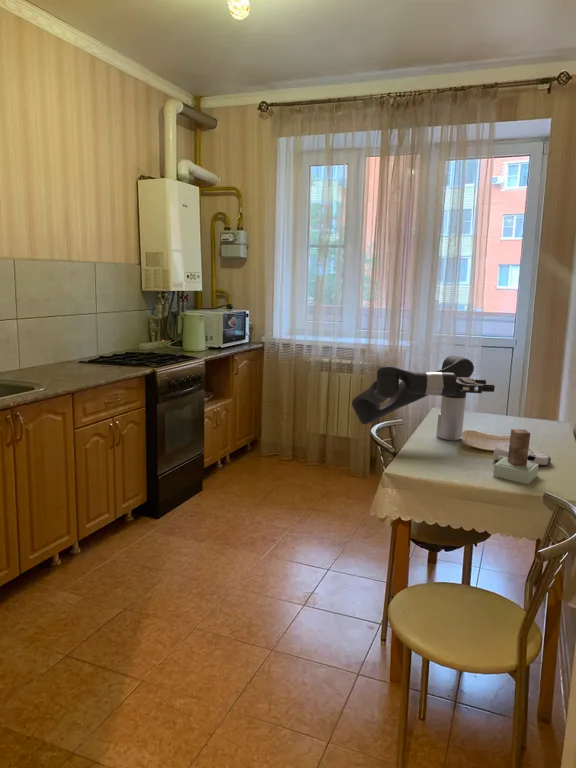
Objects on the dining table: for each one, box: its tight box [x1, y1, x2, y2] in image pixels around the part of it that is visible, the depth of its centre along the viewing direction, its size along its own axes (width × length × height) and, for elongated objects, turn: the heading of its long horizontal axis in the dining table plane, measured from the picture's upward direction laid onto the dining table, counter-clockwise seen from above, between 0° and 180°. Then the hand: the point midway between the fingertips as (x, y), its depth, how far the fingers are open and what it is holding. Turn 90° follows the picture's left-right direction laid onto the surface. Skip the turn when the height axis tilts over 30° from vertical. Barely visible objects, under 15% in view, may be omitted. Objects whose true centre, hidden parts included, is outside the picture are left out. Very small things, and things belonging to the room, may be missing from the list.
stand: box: [492, 457, 539, 485], centre depth 187 cm, size 11×11×4 cm
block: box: [508, 428, 531, 466], centre depth 185 cm, size 4×4×11 cm
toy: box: [493, 443, 552, 466], centre depth 203 cm, size 22×5×20 cm
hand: (489, 385), depth 183 cm, fingers open, 8 cm apart
